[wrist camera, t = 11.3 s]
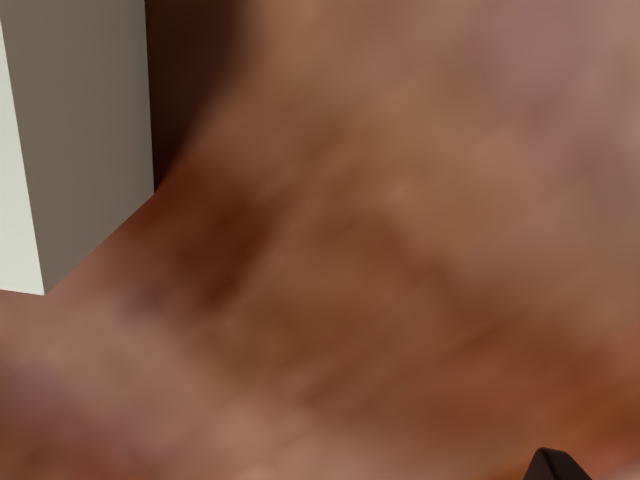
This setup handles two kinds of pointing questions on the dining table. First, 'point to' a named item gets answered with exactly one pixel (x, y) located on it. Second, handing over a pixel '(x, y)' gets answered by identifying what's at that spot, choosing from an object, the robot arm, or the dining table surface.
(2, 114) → the sage block
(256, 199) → the dining table surface
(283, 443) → the dining table surface
